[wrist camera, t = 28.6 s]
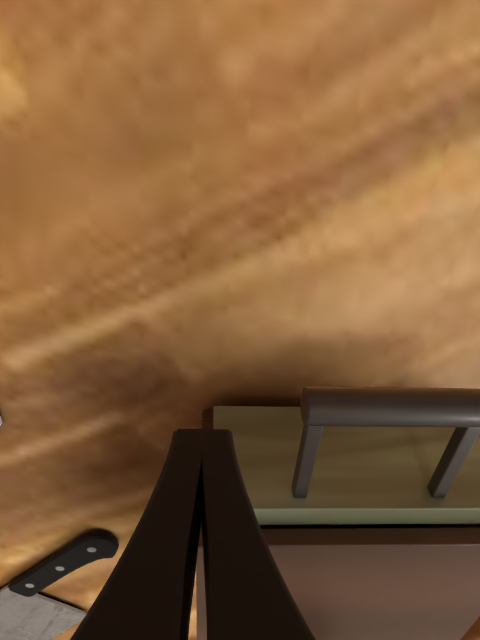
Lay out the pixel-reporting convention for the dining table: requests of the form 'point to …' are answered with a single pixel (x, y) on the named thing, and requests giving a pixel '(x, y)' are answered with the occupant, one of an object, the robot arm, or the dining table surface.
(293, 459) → the drawer
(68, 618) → the cleaver
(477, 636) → the plant
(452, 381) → the dining table surface
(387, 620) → the cabinet
